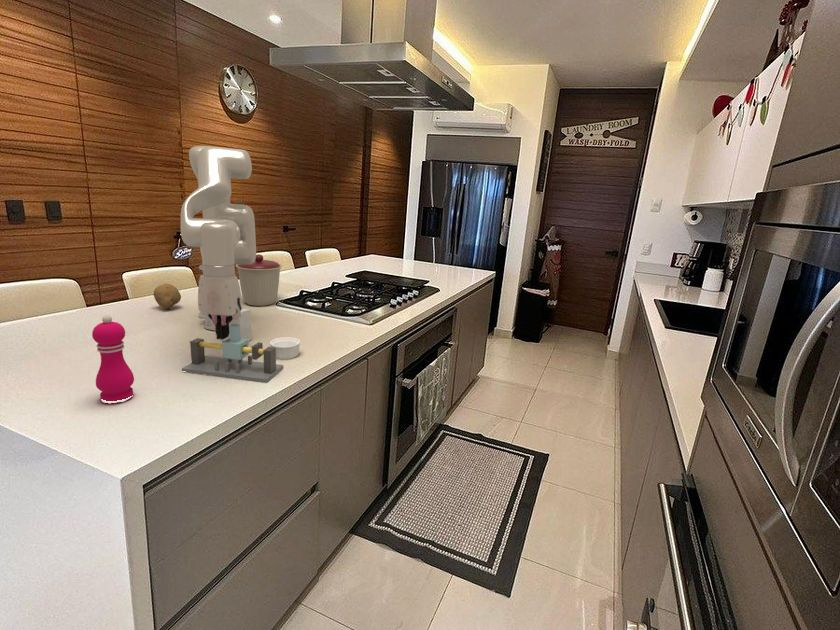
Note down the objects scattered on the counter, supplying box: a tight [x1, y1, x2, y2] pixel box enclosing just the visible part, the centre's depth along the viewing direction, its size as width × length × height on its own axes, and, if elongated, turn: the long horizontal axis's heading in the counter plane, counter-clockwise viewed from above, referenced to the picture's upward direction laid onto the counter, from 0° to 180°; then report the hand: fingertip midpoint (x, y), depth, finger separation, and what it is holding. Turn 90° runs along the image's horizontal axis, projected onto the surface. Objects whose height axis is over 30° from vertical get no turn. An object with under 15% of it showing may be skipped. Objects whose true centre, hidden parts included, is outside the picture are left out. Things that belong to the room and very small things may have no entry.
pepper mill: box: [91, 315, 135, 401], centre depth 98 cm, size 7×7×20 cm
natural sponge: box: [153, 283, 182, 310], centre depth 169 cm, size 9×9×10 cm
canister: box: [235, 253, 282, 307], centre depth 184 cm, size 18×18×21 cm
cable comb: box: [181, 337, 284, 384], centre depth 119 cm, size 24×10×8 cm, turn 82°
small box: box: [220, 307, 253, 342], centre depth 141 cm, size 8×6×10 cm
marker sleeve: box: [221, 324, 250, 360], centre depth 118 cm, size 5×4×9 cm
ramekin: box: [269, 336, 301, 360], centre depth 133 cm, size 9×9×4 cm
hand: (222, 337), depth 118 cm, fingers closed
